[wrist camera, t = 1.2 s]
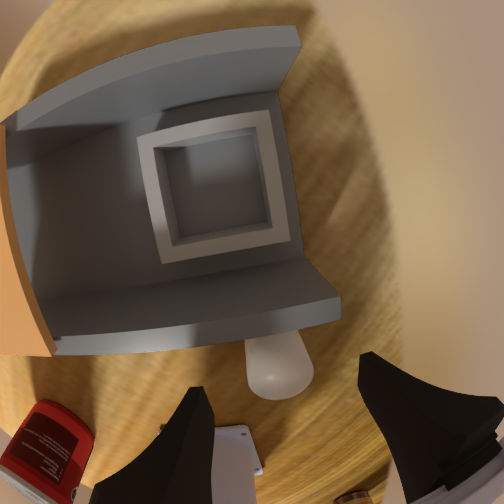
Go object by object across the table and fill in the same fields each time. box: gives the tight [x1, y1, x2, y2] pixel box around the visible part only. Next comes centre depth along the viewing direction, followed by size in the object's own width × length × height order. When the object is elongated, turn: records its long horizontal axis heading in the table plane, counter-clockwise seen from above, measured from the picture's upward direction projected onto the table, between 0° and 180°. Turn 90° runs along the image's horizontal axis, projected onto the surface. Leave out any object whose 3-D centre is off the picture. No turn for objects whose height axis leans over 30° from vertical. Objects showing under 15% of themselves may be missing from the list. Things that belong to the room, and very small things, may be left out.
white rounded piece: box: [244, 330, 314, 400], centre depth 14 cm, size 3×3×5 cm
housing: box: [0, 25, 341, 355], centre depth 11 cm, size 11×19×6 cm, turn 100°
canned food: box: [0, 400, 94, 504], centre depth 14 cm, size 8×8×11 cm
